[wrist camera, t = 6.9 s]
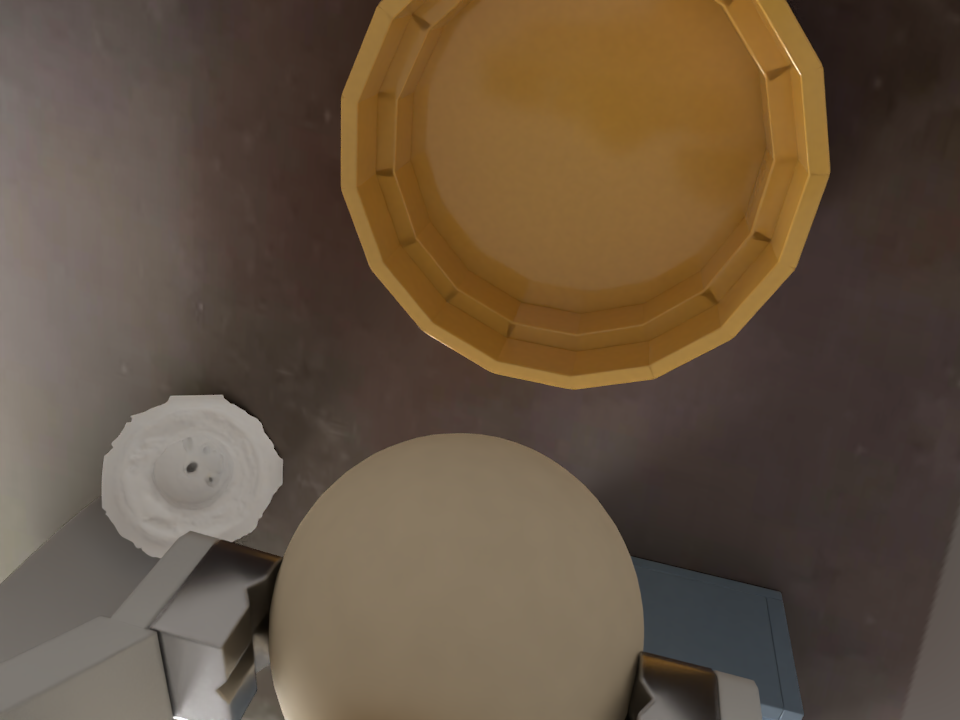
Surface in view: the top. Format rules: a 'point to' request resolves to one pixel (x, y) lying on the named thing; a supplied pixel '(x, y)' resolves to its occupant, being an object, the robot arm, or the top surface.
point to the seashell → (189, 473)
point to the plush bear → (456, 592)
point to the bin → (721, 630)
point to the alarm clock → (69, 581)
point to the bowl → (583, 175)
